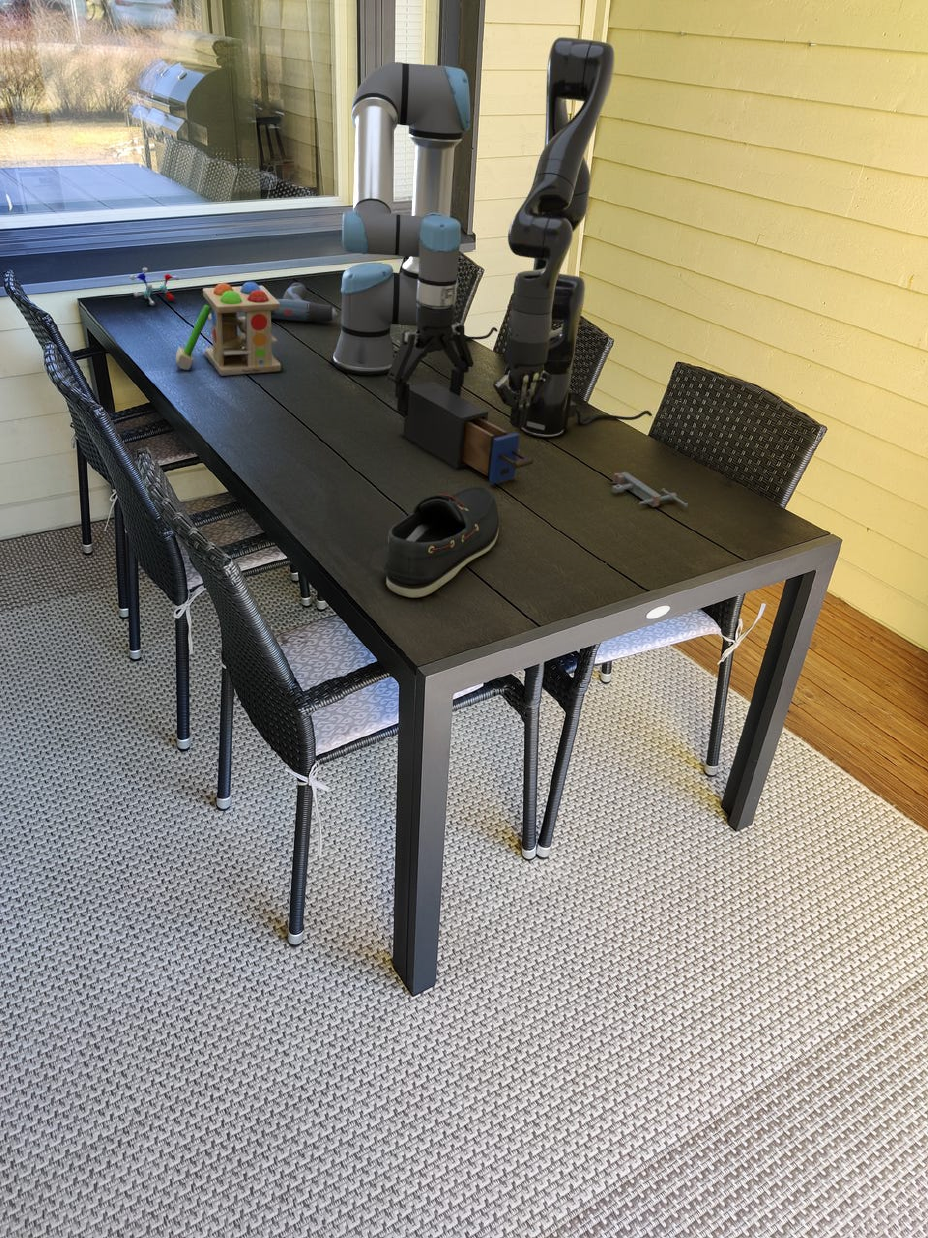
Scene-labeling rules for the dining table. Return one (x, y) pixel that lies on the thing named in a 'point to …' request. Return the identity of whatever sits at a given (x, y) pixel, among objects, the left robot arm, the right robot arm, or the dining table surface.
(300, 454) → the dining table surface
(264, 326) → the pounding bench toy
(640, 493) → the clamp
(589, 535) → the dining table surface
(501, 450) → the drawer
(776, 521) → the dining table surface
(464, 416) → the cabinet
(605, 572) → the dining table surface
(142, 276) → the molecular model
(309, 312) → the power drill
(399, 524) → the boat shoe
